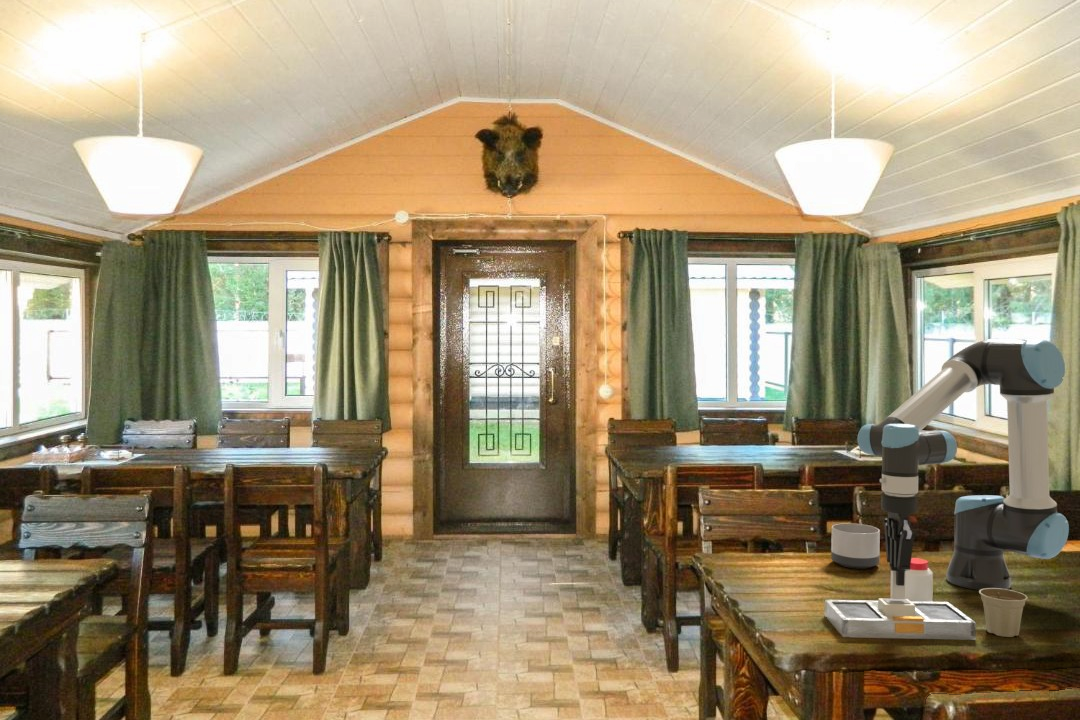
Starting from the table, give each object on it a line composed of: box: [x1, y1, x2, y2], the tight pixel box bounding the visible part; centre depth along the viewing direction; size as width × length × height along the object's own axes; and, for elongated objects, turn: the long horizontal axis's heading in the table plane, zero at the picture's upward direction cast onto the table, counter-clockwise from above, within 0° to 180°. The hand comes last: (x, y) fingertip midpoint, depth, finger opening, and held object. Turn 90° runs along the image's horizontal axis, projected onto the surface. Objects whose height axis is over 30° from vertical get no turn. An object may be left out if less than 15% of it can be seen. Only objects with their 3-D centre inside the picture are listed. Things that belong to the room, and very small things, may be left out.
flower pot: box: [978, 588, 1028, 638], centre depth 187 cm, size 9×9×9 cm
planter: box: [830, 522, 881, 570], centre depth 242 cm, size 13×13×10 cm
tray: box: [824, 599, 977, 641], centre depth 190 cm, size 28×14×4 cm, turn 87°
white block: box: [877, 597, 915, 619], centre depth 190 cm, size 6×4×5 cm
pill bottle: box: [905, 557, 934, 602], centre depth 206 cm, size 8×8×11 cm
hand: (897, 598), depth 190 cm, fingers closed
